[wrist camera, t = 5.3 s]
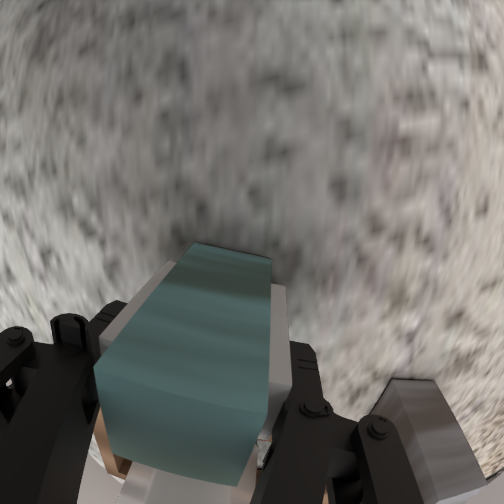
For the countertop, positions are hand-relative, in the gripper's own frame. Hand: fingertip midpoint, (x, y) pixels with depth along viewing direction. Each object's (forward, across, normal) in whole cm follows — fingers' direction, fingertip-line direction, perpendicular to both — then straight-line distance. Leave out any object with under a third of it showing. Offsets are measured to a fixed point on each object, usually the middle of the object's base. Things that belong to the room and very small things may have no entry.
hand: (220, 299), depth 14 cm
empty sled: (+2, +14, -15) cm, 21 cm away
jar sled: (+2, 0, -9) cm, 9 cm away
